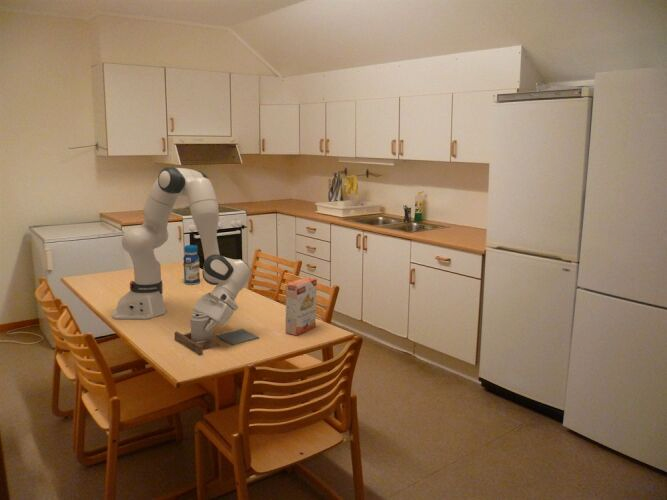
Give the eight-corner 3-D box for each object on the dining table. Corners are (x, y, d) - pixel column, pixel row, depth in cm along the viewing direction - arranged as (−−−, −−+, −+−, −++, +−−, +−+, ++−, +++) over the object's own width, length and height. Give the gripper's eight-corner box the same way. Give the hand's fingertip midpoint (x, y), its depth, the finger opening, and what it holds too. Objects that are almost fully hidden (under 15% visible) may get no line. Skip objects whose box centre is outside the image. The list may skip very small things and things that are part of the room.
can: (192, 340, 219) (191, 310, 217) (212, 339, 220) (211, 310, 217) (189, 347, 212) (188, 316, 209) (209, 347, 213) (209, 316, 210)
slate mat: (232, 345, 215) (232, 343, 214) (216, 336, 223) (216, 335, 223) (259, 338, 222) (259, 336, 222) (242, 330, 231) (242, 328, 231)
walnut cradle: (199, 355, 205) (199, 347, 204) (174, 339, 219) (174, 332, 219) (224, 348, 211) (223, 341, 210) (198, 333, 226) (197, 326, 225)
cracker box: (297, 336, 225) (297, 285, 221) (284, 333, 228) (285, 283, 224) (316, 326, 237) (317, 278, 233) (304, 324, 240) (305, 276, 236)
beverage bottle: (193, 280, 306) (191, 243, 302) (203, 282, 302) (202, 245, 297) (180, 283, 300) (179, 246, 296) (191, 285, 295) (190, 248, 291)
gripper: (203, 287, 224) (181, 315, 220) (230, 299, 209) (207, 329, 205) (213, 296, 228) (192, 324, 224) (241, 308, 213) (218, 338, 209)
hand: (199, 326), depth 214 cm, fingers open, 8 cm apart
